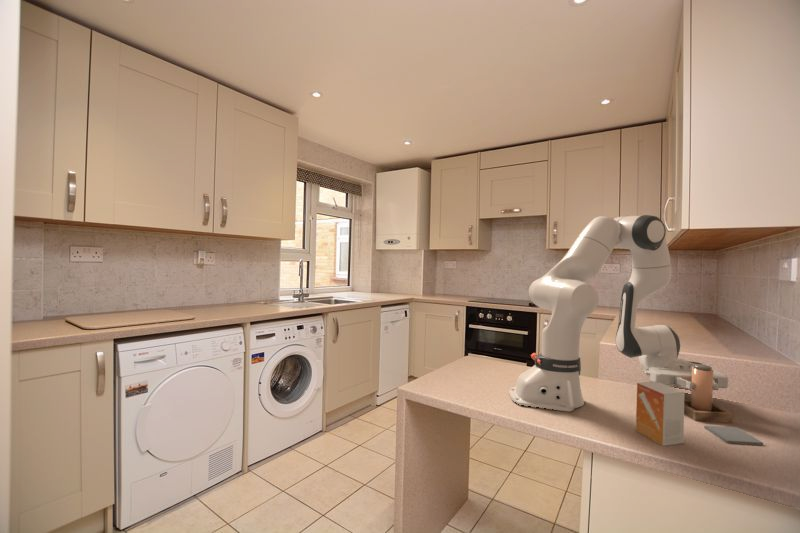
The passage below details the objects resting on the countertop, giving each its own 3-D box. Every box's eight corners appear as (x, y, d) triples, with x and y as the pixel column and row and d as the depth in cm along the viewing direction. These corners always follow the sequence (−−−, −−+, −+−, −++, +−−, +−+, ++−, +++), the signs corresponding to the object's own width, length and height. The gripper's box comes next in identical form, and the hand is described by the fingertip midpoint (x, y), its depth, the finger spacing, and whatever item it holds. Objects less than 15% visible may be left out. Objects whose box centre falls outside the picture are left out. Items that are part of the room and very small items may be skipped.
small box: (635, 430, 97) (636, 382, 97) (655, 428, 98) (656, 380, 98) (662, 446, 89) (663, 393, 89) (684, 444, 90) (685, 391, 90)
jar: (697, 412, 105) (699, 368, 104) (686, 405, 109) (688, 363, 109) (716, 413, 104) (717, 369, 104) (704, 406, 109) (705, 364, 108)
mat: (726, 442, 91) (726, 440, 91) (704, 427, 99) (704, 425, 99) (763, 445, 90) (763, 442, 90) (737, 429, 98) (737, 427, 98)
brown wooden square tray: (695, 420, 103) (695, 412, 103) (675, 407, 112) (675, 399, 112) (731, 422, 102) (731, 413, 102) (708, 408, 111) (708, 400, 111)
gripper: (640, 360, 121) (665, 374, 107) (709, 363, 118) (743, 377, 104) (640, 379, 121) (664, 395, 107) (708, 382, 118) (742, 399, 104)
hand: (704, 386), depth 106 cm, fingers closed on jar, 5 cm apart
